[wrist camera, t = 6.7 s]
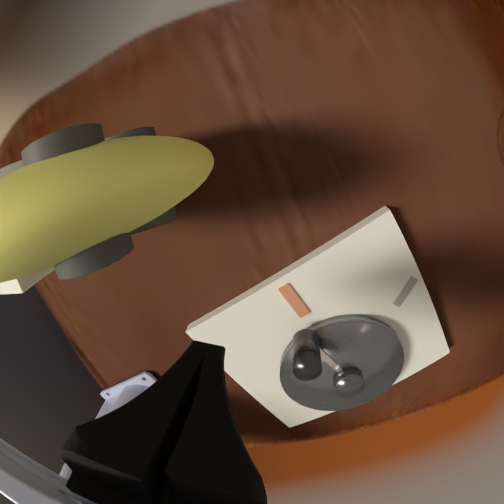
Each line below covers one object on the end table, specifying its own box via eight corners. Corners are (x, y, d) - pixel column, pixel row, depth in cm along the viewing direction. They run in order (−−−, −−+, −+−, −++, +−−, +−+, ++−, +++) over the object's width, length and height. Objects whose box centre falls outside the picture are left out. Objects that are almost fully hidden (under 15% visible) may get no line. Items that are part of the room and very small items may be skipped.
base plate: (289, 420, 27) (289, 429, 26) (188, 324, 23) (184, 333, 22) (445, 345, 22) (450, 353, 21) (385, 205, 18) (390, 210, 17)
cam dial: (418, 362, 22) (433, 397, 18) (326, 415, 25) (328, 451, 21) (354, 281, 19) (368, 318, 16) (246, 355, 23) (240, 395, 19)
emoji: (74, 232, 22) (252, 189, 18) (-73, 326, 8) (107, 353, 4) (57, 175, 20) (234, 110, 17) (-104, 238, 6) (23, 59, 3)
